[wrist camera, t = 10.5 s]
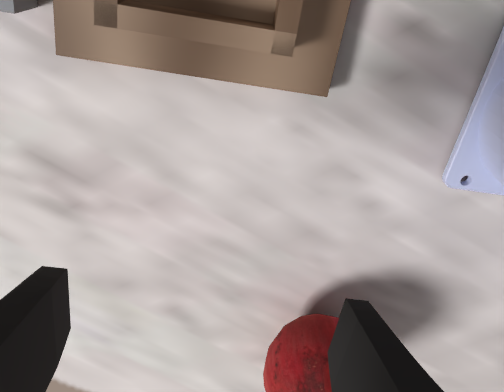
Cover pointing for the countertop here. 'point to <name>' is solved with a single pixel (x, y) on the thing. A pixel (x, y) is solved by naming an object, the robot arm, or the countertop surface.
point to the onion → (301, 356)
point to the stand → (17, 5)
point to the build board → (210, 38)
